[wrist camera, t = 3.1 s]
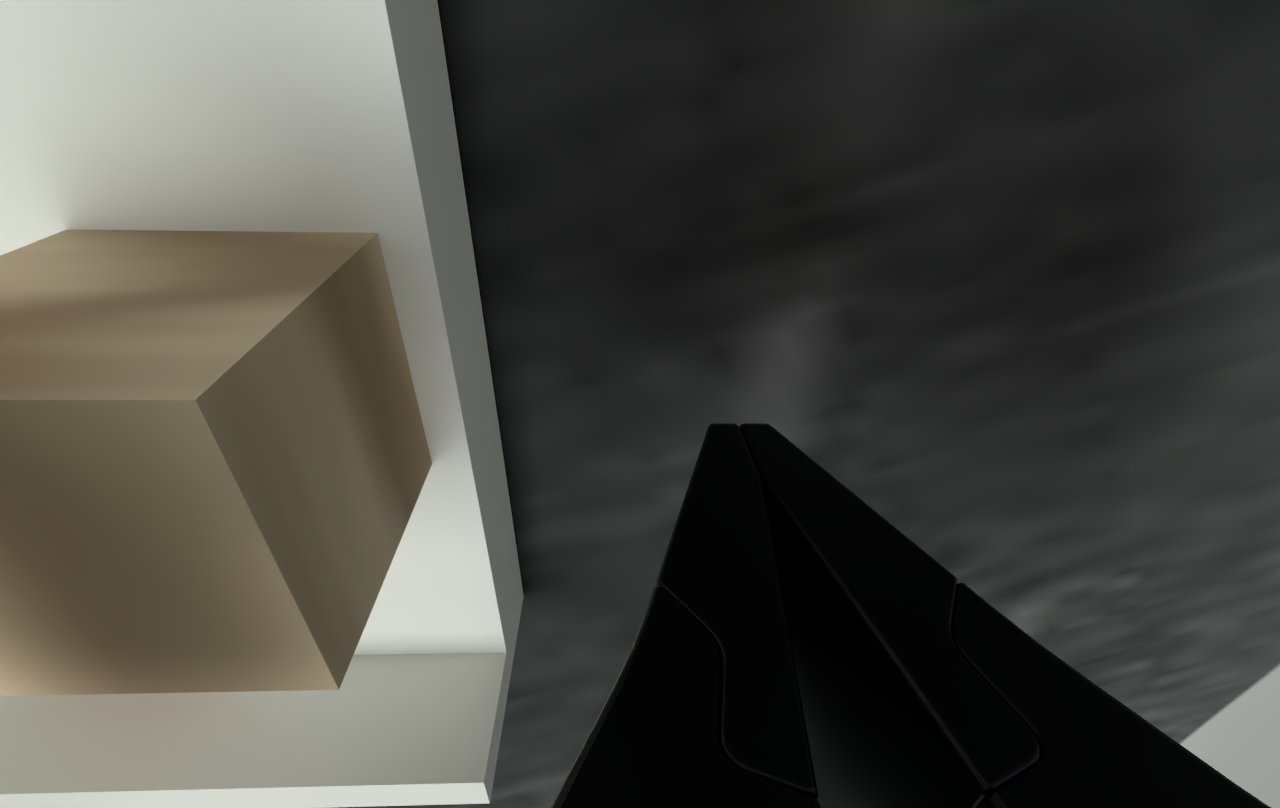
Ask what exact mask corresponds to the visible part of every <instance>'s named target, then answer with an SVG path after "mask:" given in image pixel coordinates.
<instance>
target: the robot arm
mask: <svg viewBox="0 0 1280 808" xmlns="http://www.w3.org/2000/svg"><path fill="white" fill-rule="evenodd" d="M957 582H958V581H957V578H956V577H955V576H954V575H952V574H951V573H950V572H949V571H948V570H946V569H945V568H944V567H943V566H941V565H940V564H939V563H938V562H937V561H935V560H934V559H933V558H932V557H930V556H929V555H928V554H927V553H926V552H924V551H923V550H922V549H921V548H919V547H918V546H917V545H916V544H915V543H913V542H912V541H911V540H910V539H909V538H907V537H906V536H905V535H904V534H902V533H901V532H900V531H899V530H898V529H896V528H895V527H894V526H893V525H891V524H890V523H889V522H888V521H887V520H885V519H884V518H883V517H882V516H880V515H879V514H878V513H877V512H876V511H874V510H873V509H872V508H871V507H869V506H868V505H867V504H866V503H865V502H863V501H862V500H861V499H860V498H858V497H857V496H856V495H855V494H854V493H852V492H851V491H850V490H849V489H847V488H846V487H845V486H844V485H843V484H841V483H840V482H839V481H838V480H837V479H835V478H834V477H833V476H832V475H830V474H829V473H828V472H827V471H826V470H824V469H823V468H822V467H821V466H819V465H818V464H817V463H816V462H815V461H813V460H812V459H811V458H810V457H808V456H807V455H806V454H805V453H804V452H802V451H801V450H800V449H799V448H797V447H796V446H795V445H794V444H793V443H791V442H790V441H789V440H788V439H786V438H785V437H784V436H783V435H782V434H780V433H779V432H778V431H777V430H776V429H774V428H773V427H772V426H770V425H769V424H741V425H740V426H738V425H736V424H711V425H710V426H709V427H708V430H707V433H706V436H705V439H704V442H703V444H702V447H701V450H700V453H699V456H698V459H697V462H696V465H695V468H694V471H693V474H692V477H691V480H690V483H689V486H688V489H687V492H686V495H685V498H684V501H683V504H682V507H681V510H680V513H679V516H678V519H677V521H676V524H675V527H674V530H673V533H672V536H671V539H670V542H669V545H668V548H667V551H666V554H665V557H664V560H663V563H662V566H661V569H660V572H659V575H658V578H657V581H656V584H655V588H654V589H653V591H652V594H651V597H650V600H649V603H648V606H647V609H646V612H645V615H644V617H643V620H642V623H641V625H640V628H639V630H638V633H637V635H636V638H635V641H634V643H633V646H632V648H631V651H630V653H629V655H628V657H627V659H626V661H625V663H624V666H623V668H622V670H621V672H620V674H619V676H618V678H617V680H616V682H615V685H614V687H613V689H612V691H611V693H610V695H609V697H608V699H607V701H606V703H605V705H604V706H603V708H602V710H601V712H600V714H599V716H598V718H597V720H596V722H595V724H594V726H593V728H592V729H591V731H590V733H589V735H588V737H587V739H586V741H585V743H584V745H583V747H582V749H581V751H580V753H579V754H578V756H577V758H576V760H575V762H574V764H573V766H572V768H571V770H570V772H569V774H568V776H567V777H566V779H565V781H564V783H563V785H562V787H561V789H560V791H559V793H558V795H557V797H556V799H555V801H554V802H553V804H552V806H551V808H1271V807H1269V806H1267V805H1266V804H1265V803H1263V802H1262V801H1260V800H1259V799H1257V798H1256V797H1254V796H1252V795H1251V794H1250V793H1248V792H1247V791H1245V790H1243V789H1242V788H1241V787H1239V786H1238V785H1236V784H1235V783H1233V782H1232V781H1231V780H1229V779H1227V778H1226V777H1225V776H1224V775H1222V774H1221V773H1219V772H1218V771H1216V770H1215V769H1214V768H1212V767H1211V766H1209V765H1208V764H1207V763H1205V762H1204V761H1202V760H1201V759H1200V758H1198V757H1197V756H1195V755H1194V754H1192V753H1191V752H1190V751H1188V750H1187V749H1185V748H1184V747H1183V746H1181V745H1180V744H1178V743H1177V742H1176V741H1174V740H1173V739H1171V738H1170V737H1169V736H1167V735H1166V734H1164V733H1163V732H1161V731H1160V730H1159V729H1157V728H1156V727H1154V726H1153V725H1152V724H1150V723H1149V722H1147V721H1146V720H1145V719H1143V718H1142V717H1140V716H1139V715H1138V714H1136V713H1135V712H1133V711H1132V710H1130V709H1129V708H1128V707H1126V706H1125V705H1123V704H1122V703H1121V702H1119V701H1118V700H1116V699H1115V698H1114V697H1112V696H1111V695H1109V694H1108V693H1107V692H1105V691H1104V690H1102V689H1101V688H1099V687H1098V686H1097V685H1095V684H1094V683H1092V682H1091V681H1090V680H1088V679H1087V678H1086V677H1084V676H1083V675H1081V674H1080V673H1079V672H1077V671H1076V670H1075V669H1073V668H1072V667H1071V666H1069V665H1068V664H1066V663H1065V662H1064V661H1062V660H1061V659H1060V658H1058V657H1057V656H1056V655H1054V654H1053V653H1051V652H1050V651H1049V650H1047V649H1046V648H1045V647H1043V646H1042V645H1041V644H1039V643H1038V642H1036V641H1035V640H1034V639H1033V638H1031V637H1030V636H1029V635H1027V634H1026V633H1025V632H1024V631H1022V630H1021V629H1020V628H1019V627H1017V626H1016V625H1015V624H1013V623H1012V622H1011V621H1010V620H1008V619H1007V618H1006V617H1005V616H1003V615H1002V614H1001V613H1000V612H998V611H997V610H996V609H994V608H993V607H992V606H991V605H989V604H988V603H987V602H986V601H985V600H983V599H982V598H981V597H980V596H978V595H977V594H976V593H975V592H974V591H972V590H971V589H970V588H969V587H967V586H966V585H965V584H964V583H959V584H957Z"/></svg>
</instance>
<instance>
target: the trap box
mask: <svg viewBox="0 0 1280 808" xmlns="http://www.w3.org/2000/svg"><path fill="white" fill-rule="evenodd" d="M64 230H155V231H252V232H349V233H378V237H379V241H380V246H381V250H382V254H383V258H384V262H385V267H386V271H387V275H388V279H389V284H390V288H391V292H392V296H393V301H394V305H395V309H396V313H397V317H398V322H399V326H400V330H401V334H402V339H403V343H404V347H405V351H406V356H407V360H408V364H409V368H410V372H411V377H412V381H413V385H414V389H415V394H416V398H417V402H418V406H419V411H420V415H421V419H422V423H423V427H424V432H425V436H426V440H427V444H428V449H429V453H430V457H431V461H432V465H431V468H430V470H429V473H428V475H427V478H426V480H425V482H424V485H423V487H422V490H421V492H420V495H419V497H418V499H417V502H416V504H415V507H414V509H413V512H412V514H411V516H410V519H409V521H408V524H407V526H406V529H405V531H404V533H403V536H402V538H401V541H400V543H399V546H398V548H397V550H396V553H395V555H394V558H393V560H392V563H391V565H390V567H389V570H388V572H387V575H386V577H385V580H384V582H383V584H382V587H381V589H380V592H379V594H378V596H377V599H376V601H375V604H374V606H373V609H372V611H371V613H370V616H369V618H368V621H367V623H366V626H365V628H364V630H363V633H362V635H361V638H360V640H359V643H358V645H357V647H356V650H355V652H354V655H353V657H352V660H351V662H350V664H349V667H348V669H347V672H346V674H345V677H344V679H343V681H342V684H341V686H340V689H339V690H302V691H247V692H192V693H138V694H83V695H28V696H0V808H327V807H366V806H405V805H444V804H483V803H490V799H491V793H492V787H493V780H494V774H495V768H496V762H497V756H498V750H499V744H500V737H501V731H502V725H503V719H504V713H505V707H506V701H507V694H508V688H509V682H510V676H511V670H512V664H513V658H514V651H515V645H516V639H517V633H518V627H519V621H520V614H521V608H522V602H523V596H524V595H523V588H522V581H521V575H520V568H519V561H518V554H517V547H516V540H515V533H514V526H513V519H512V512H511V506H510V499H509V492H508V485H507V478H506V471H505V464H504V457H503V450H502V443H501V437H500V430H499V423H498V416H497V409H496V402H495V395H494V388H493V381H492V374H491V368H490V361H489V354H488V347H487V340H486V333H485V326H484V319H483V312H482V305H481V299H480V292H479V285H478V278H477V271H476V264H475V257H474V250H473V243H472V236H471V230H470V223H469V216H468V209H467V202H466V195H465V188H464V181H463V174H462V167H461V161H460V154H459V147H458V140H457V133H456V126H455V119H454V112H453V105H452V98H451V92H450V85H449V78H448V71H447V64H446V57H445V50H444V43H443V36H442V29H441V23H440V16H439V9H438V2H437V0H0V255H3V254H6V253H8V252H11V251H13V250H16V249H18V248H21V247H23V246H26V245H28V244H31V243H33V242H36V241H38V240H41V239H44V238H46V237H49V236H51V235H54V234H56V233H59V232H61V231H64Z"/></svg>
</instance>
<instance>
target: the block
mask: <svg viewBox="0 0 1280 808" xmlns="http://www.w3.org/2000/svg"><path fill="white" fill-rule="evenodd" d="M431 465H432V461H431V457H430V453H429V449H428V444H427V440H426V436H425V432H424V427H423V423H422V419H421V415H420V411H419V406H418V402H417V398H416V394H415V389H414V385H413V381H412V377H411V372H410V368H409V364H408V360H407V356H406V351H405V347H404V343H403V339H402V334H401V330H400V326H399V322H398V317H397V313H396V309H395V305H394V301H393V296H392V292H391V288H390V284H389V279H388V275H387V271H386V267H385V262H384V258H383V254H382V250H381V246H380V241H379V237H378V233H349V232H252V231H155V230H64V231H61V232H59V233H56V234H54V235H51V236H49V237H46V238H44V239H41V240H38V241H36V242H33V243H31V244H28V245H26V246H23V247H21V248H18V249H16V250H13V251H11V252H8V253H6V254H3V255H0V696H28V695H83V694H138V693H192V692H247V691H302V690H339V689H340V686H341V684H342V681H343V679H344V677H345V674H346V672H347V669H348V667H349V664H350V662H351V660H352V657H353V655H354V652H355V650H356V647H357V645H358V643H359V640H360V638H361V635H362V633H363V630H364V628H365V626H366V623H367V621H368V618H369V616H370V613H371V611H372V609H373V606H374V604H375V601H376V599H377V596H378V594H379V592H380V589H381V587H382V584H383V582H384V580H385V577H386V575H387V572H388V570H389V567H390V565H391V563H392V560H393V558H394V555H395V553H396V550H397V548H398V546H399V543H400V541H401V538H402V536H403V533H404V531H405V529H406V526H407V524H408V521H409V519H410V516H411V514H412V512H413V509H414V507H415V504H416V502H417V499H418V497H419V495H420V492H421V490H422V487H423V485H424V482H425V480H426V478H427V475H428V473H429V470H430V468H431Z"/></svg>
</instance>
